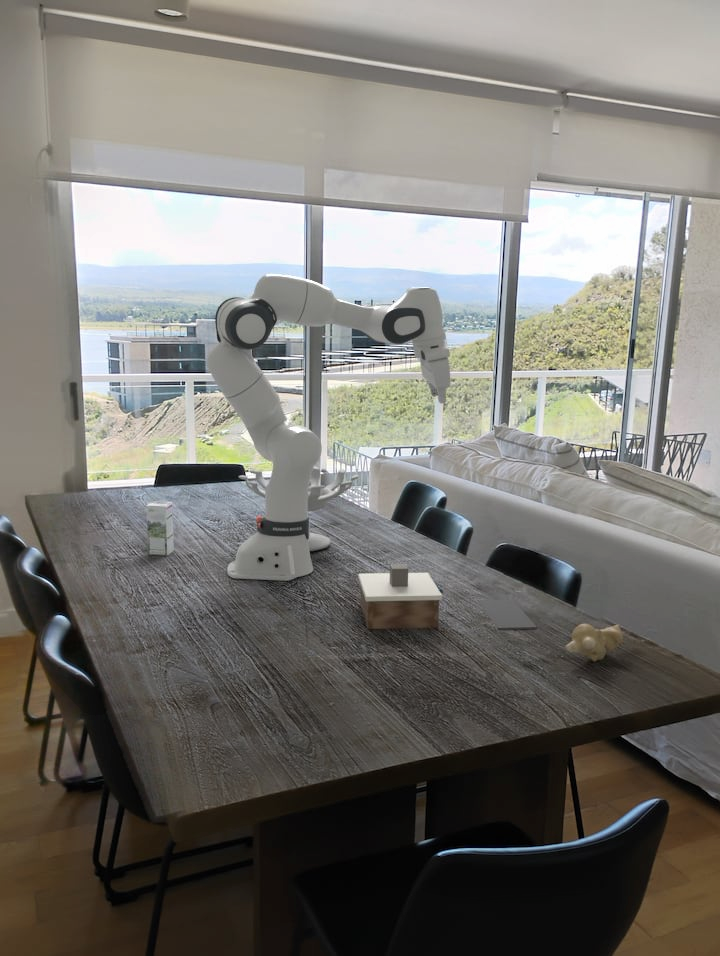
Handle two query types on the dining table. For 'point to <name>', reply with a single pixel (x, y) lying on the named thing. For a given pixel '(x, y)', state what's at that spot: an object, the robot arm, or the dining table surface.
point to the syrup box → (160, 528)
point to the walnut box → (400, 613)
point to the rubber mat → (506, 614)
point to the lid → (398, 585)
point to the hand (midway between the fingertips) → (438, 399)
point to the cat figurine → (594, 640)
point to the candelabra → (310, 497)
